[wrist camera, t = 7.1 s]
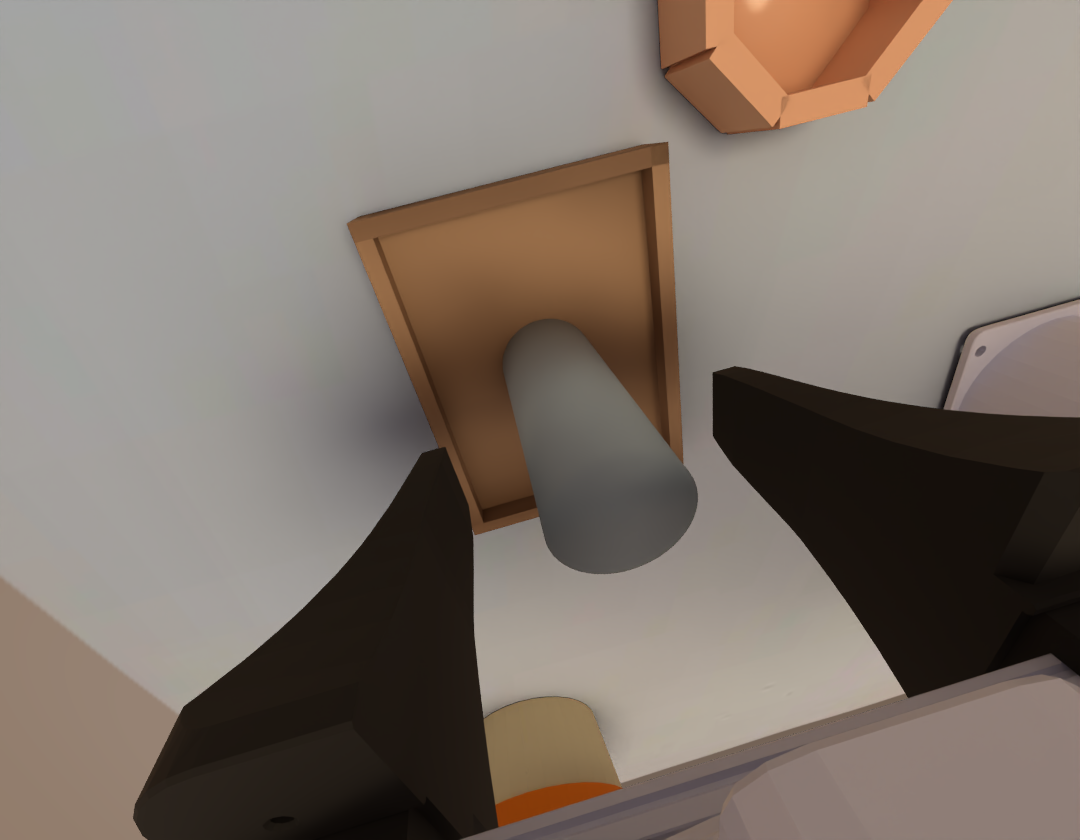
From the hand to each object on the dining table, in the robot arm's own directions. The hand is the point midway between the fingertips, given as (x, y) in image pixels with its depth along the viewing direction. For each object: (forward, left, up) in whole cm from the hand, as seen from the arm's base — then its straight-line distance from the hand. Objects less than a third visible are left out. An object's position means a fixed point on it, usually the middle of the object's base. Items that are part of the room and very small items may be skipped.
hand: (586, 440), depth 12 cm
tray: (0, 0, -6) cm, 6 cm away
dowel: (0, 0, -5) cm, 5 cm away
